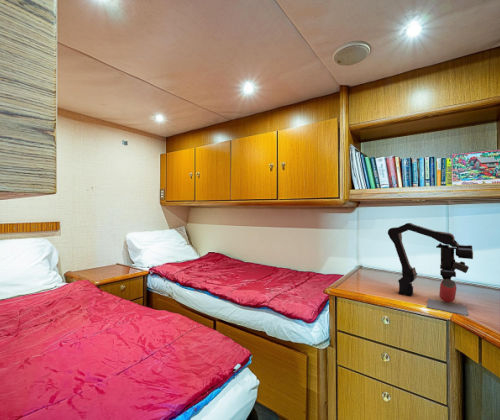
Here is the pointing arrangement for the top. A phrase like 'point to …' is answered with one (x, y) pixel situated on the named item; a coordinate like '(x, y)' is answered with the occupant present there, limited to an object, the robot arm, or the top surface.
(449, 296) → the beer can
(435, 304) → the mat
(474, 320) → the top surface
